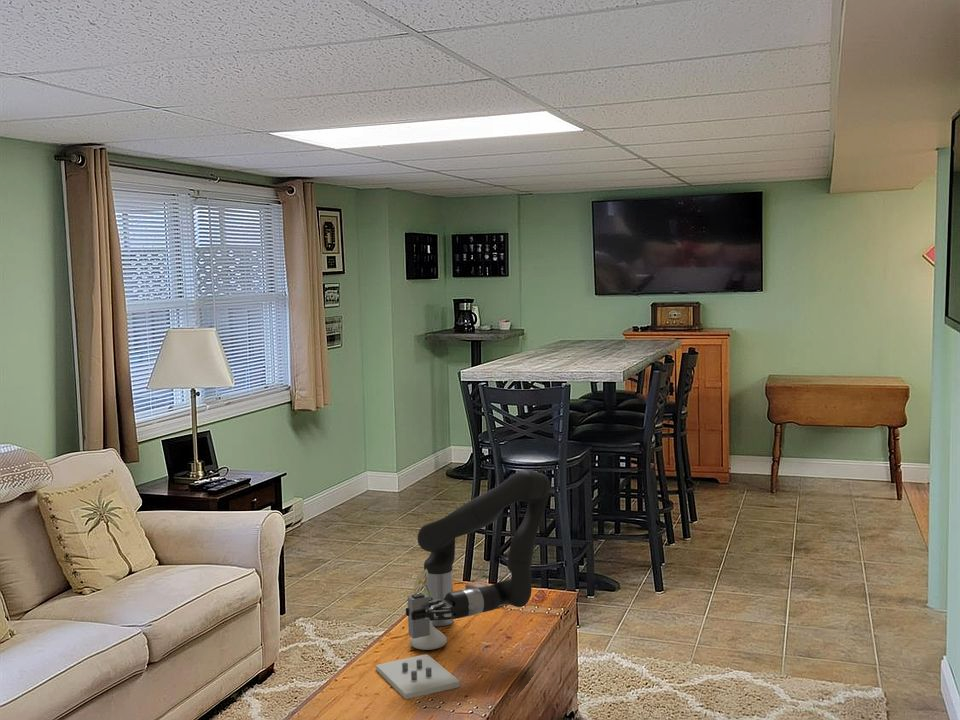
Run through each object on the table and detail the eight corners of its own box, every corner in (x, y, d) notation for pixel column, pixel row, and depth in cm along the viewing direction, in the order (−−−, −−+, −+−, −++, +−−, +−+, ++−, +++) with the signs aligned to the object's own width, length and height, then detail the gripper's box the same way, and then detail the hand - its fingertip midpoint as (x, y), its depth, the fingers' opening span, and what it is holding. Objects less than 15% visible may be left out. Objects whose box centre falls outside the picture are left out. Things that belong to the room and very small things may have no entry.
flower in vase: (411, 639, 293) (409, 560, 291) (448, 639, 293) (446, 560, 291) (407, 655, 280) (405, 573, 278) (445, 655, 280) (443, 573, 278)
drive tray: (375, 669, 270) (375, 658, 270) (427, 659, 278) (426, 647, 277) (405, 699, 251) (405, 686, 251) (459, 686, 258) (459, 674, 258)
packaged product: (459, 583, 333) (481, 578, 339) (460, 597, 333) (482, 591, 339) (492, 596, 319) (514, 590, 325) (492, 610, 319) (515, 603, 325)
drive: (408, 634, 264) (407, 594, 263) (424, 631, 266) (423, 591, 265) (413, 638, 261) (412, 598, 260) (429, 635, 263) (428, 594, 262)
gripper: (453, 583, 275) (398, 593, 267) (475, 597, 263) (418, 608, 255) (453, 608, 276) (399, 619, 268) (476, 623, 264) (419, 635, 256)
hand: (409, 614), depth 262 cm, fingers closed on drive, 3 cm apart
